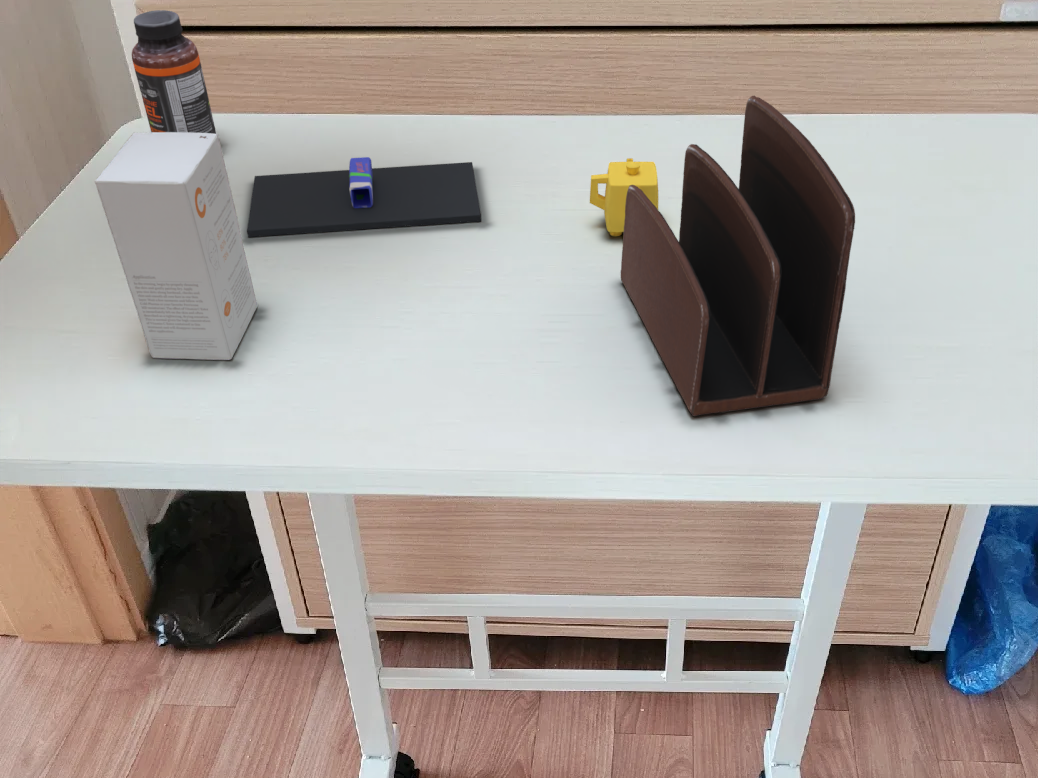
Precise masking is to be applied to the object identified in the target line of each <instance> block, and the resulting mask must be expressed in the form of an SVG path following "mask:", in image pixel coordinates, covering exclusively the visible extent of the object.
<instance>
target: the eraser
mask: <svg viewBox="0 0 1038 778" xmlns="http://www.w3.org/2000/svg"><path fill="white" fill-rule="evenodd" d="M348 167H349V168H348V170H349V175H350V187H349V191H350V196H351V202H352V206H353V208H366V207H372V205H373V186H372V179H373V175H372V168H373V165H372V159H371V158H370V156H365V157H364V156H363V157H351V158H350V159H349V166H348Z"/></svg>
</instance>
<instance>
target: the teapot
mask: <svg viewBox="0 0 1038 778" xmlns="http://www.w3.org/2000/svg"><path fill="white" fill-rule="evenodd" d="M599 184H601V185H602V184H605V191H604V195H602V194H600V193H599ZM630 185H635V186H637V187H638V188H639V189H641V190H642V191H643V192H644V194H645V195H646V196H647V197H648V199H649V200H650V201H651V202H652V203H653V204H654V205H655V207H656V208H657V209H658V210H659V180H658V172H657V166H656V163H655V162H654V161H634V158H632V157H631V158H628V157H627V158H626V160H625V161H610V162H609V163H608V167H607V173H601V174H591V175H590V189H589V204H591V205H593V206H595V207H597V208H599V209H601V210H603V211H604V212H603V213H604V220H605V225H606V231H607V232H608V233H609V235H610V236H612V237H620V236H621V235H622V234H623V233H624V220H625V204H626V196H627V191H628V188H629V186H630Z"/></svg>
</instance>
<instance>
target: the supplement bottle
mask: <svg viewBox="0 0 1038 778" xmlns="http://www.w3.org/2000/svg"><path fill="white" fill-rule="evenodd" d="M133 24H134V25H133V26H134V29H135V35H136V36H137V43H136V44H135V45H134V46H133V48H132V49H131V60H132V65H133V69H134V72H135V76H136V80H137V83H138V88H139V92H140V95H141V99H142V102H143V106H144V111H145V115H146V117H147V121H148V125H149V129H150V132H190V133H213V134H217V131H216V130H217V129H216V127H215V126H216V125H215V122H214V117H213V113H212V108H211V104H210V99H209V94H208V89H207V85H206V80H205V75H204V72H203V67H202V63H201V59H200V53H199V51H198V48H197V46H196V44H195V43H194V42H193V40H191V39H190V38H188V37H186V36H184V35H183V34H182V32H183V27H182V24H181V20H180V16H179V14H178V13H177V12H175V11H172V10H165V9H163V10H160V9H157V10H149V11H145V12H143V13H142V12H141V13H140V14H138V15H136V16H135V17H134V18H133Z"/></svg>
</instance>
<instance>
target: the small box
mask: <svg viewBox="0 0 1038 778" xmlns="http://www.w3.org/2000/svg"><path fill="white" fill-rule="evenodd" d="M94 184H95V186H96V190H97V193H98V196H99V199H100V202H101V205H102V208H103V211H104V214H105V217H106V221H107V224H108V227H109V230H110V233H111V235H112V239H113V243H114V245H115V248H116V251H117V255H118V258H119V260H120V264H121V267H122V271H123V273H124V276H125V280H126V282H127V285H128V288H129V292H130V295H131V298H132V301H133V305H134V307H135V310H136V313H137V317H138V320H139V323H140V326H141V329H142V332H143V335H144V339H145V342H146V345H147V348H148V351H149V354H150V356H151V357H152V358H153V359H179V360H181V359H182V360H208V361H211V360H212V361H213V360H214V361H230V360H232V359H233V358H234V357H233V356H234V354H235V352H236V351H237V349H238V347H239V345H240V342H241V341H242V339H243V337H244V334H245V333H246V331H247V329H248V326H249V324H250V322H251V320H252V318H253V316H254V314H255V312H256V310H257V308H258V305H259V304H258V300H257V297H256V293H255V288H254V284H253V280H252V274H251V272H250V271H251V270H250V267H249V263H248V259H247V255H246V250H245V246H244V242H243V237H242V233H241V227H240V224H239V223H240V222H239V219H238V215H237V211H236V206H235V202H234V197H233V192H232V187H231V183H230V179H229V175H228V171H227V166H226V162H225V158H224V153H223V149H222V144H221V141H220V136H219V134H218V133H216V134H213V133H190V132H151V131H149V132H148V131H147V132H144V131H143V132H133V133H132V134H131V135H130V136H129V138H128V139H127V140H126V142H124V144H123V145H122V147H120V149H119V150H118V151H117V153H116V154H115V155H114V157H113V158H112V159H111V160H110V162H109V163H108V164H107V165H106V167H105V168H104V169H103V170H102V171H101V173H100V174H99V175H98V177H97V178H96V179H95V180H94Z"/></svg>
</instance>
